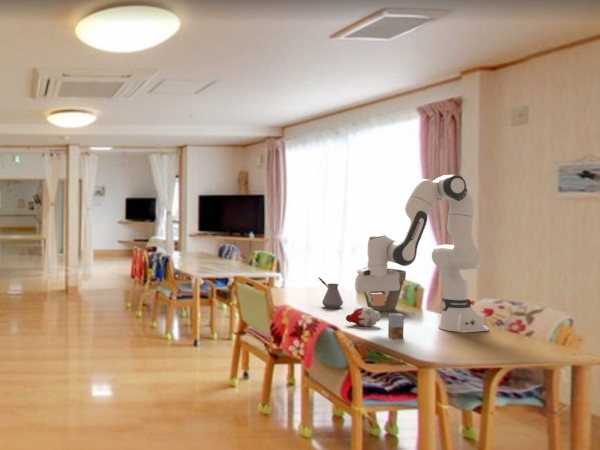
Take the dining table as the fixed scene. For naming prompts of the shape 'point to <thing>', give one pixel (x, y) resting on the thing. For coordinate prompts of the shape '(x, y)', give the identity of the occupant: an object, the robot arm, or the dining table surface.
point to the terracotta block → (378, 299)
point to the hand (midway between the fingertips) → (377, 301)
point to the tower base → (395, 332)
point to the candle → (364, 316)
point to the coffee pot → (332, 296)
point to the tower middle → (396, 320)
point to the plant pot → (389, 295)
